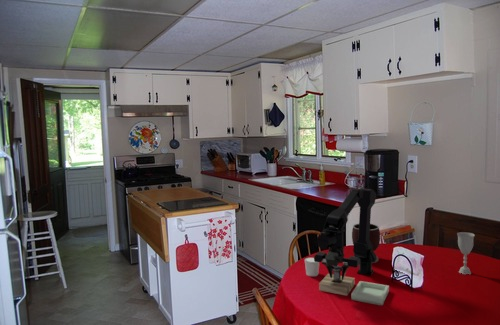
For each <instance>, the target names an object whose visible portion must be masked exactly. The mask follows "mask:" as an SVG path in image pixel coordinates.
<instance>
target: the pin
mask: <svg viewBox="0 0 500 325" xmlns="http://www.w3.org/2000/svg"><path fill="white" fill-rule="evenodd" d="M332 270H333V276H334V282H335V283H341V276H342V266H341V265H337V266H333V265H332Z"/></svg>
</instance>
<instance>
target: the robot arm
mask: <svg viewBox="0 0 500 325" xmlns="http://www.w3.org/2000/svg"><path fill="white" fill-rule="evenodd" d="M376 198H377V193H376V192H375V190H374V189H370V188H361V187H360V188H351V189H350V190H349V193H348V195H347V196H346V198H344V200H343V201H342V203H341V204H340V206H338V208H336V209H333V210H332V211H331V212H330V213H329V214H328V215H327V217H326V220H325V222H324V224H323V227H322V231H321V232H320V235H318V236H317V238H316V244H317V246H318V248H320V249H321V250H326V249H327V248H328V251H327V252H323V251H318V252H317V253H315V254H314V256H313V258H314V261H315V262H319V263H321V264H322V265H324V266H325V267H326V269H327V271H328V274H329V275H330V277H331V278H332V275H333V270H332V266H339V264H342V266H341V267H342V271H341V276H342V280H343V279H344V276H345V277H346V274H347V271H348V269H350V268H358V270H357V272H356V273H357V274H358V275H359V274H360V275H365V276H372V274H373V273H374V271H375V270H374V269H373V267H372V266H373V263H372V262H375V261H376V257H378V256H377V254H376V253H375V251H373V246H372V243H371V242H370V240H369V236H370V224H371V216H372V214H371V213H372V207H373V206H374V205H375V203H376ZM356 205H358V207H359V218H358V220H359V221H358V224H359V235H358V240H357V241H356V242H354V245H353V249H352V251H353V255H351V256H349V257H345V253H344V250H345V249H344V247H345V244H344V232H347V229H346V228H345V227H346V225H347V223H348V221H349V218H348V216H349V215H350V213H351V212H352V210H353V209H354V207H355V206H356ZM375 263H376V262H375Z"/></svg>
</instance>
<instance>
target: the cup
mask: <svg viewBox="0 0 500 325" xmlns="http://www.w3.org/2000/svg"><path fill="white" fill-rule="evenodd" d="M304 266H305V274H306V276H308V277H317V276H319V269H320V262H315V261H314V256H311V257H306V258H304Z"/></svg>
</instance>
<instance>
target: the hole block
mask: <svg viewBox="0 0 500 325" xmlns="http://www.w3.org/2000/svg"><path fill="white" fill-rule="evenodd" d="M355 279H356V278H355V277H350V276H346V275H345V276H344V279H343V280H342V275H341V283H335V282H334V276H333V275H332V278H331V277H330V275H329V273H327V274H326V275H325V276H324V278H323V279H322V280H321V281H320V282H319V283H318V290H319V292H326V293H330V294H331V293H332V294H336V295H337V294H338V295H342V296H349V294H350V292H351V291H352V289H353V288H354V286H355V285H356V284H355V283H356V282H355Z"/></svg>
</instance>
